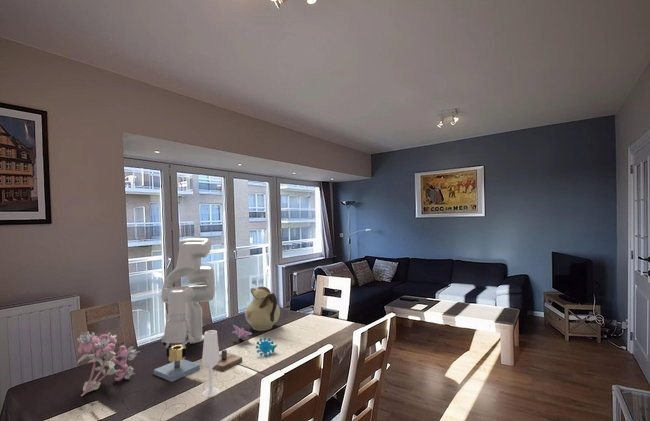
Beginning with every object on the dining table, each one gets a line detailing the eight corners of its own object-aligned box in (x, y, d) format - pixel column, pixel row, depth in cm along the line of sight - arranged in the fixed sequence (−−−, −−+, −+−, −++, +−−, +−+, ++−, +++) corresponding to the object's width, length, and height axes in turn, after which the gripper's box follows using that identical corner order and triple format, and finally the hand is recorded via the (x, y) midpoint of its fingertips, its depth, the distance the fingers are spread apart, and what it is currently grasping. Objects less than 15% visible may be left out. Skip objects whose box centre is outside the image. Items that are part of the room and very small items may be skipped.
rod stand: (205, 365, 153) (205, 352, 153) (225, 356, 163) (225, 344, 164) (222, 371, 147) (222, 357, 147) (242, 361, 157) (242, 348, 157)
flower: (118, 397, 123) (137, 328, 135) (53, 397, 119) (78, 327, 131) (135, 395, 140) (150, 335, 152) (79, 395, 137) (99, 333, 149)
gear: (256, 355, 159) (255, 336, 166) (253, 361, 163) (253, 342, 170) (277, 355, 163) (276, 336, 170) (275, 360, 167) (274, 342, 174)
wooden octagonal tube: (166, 361, 144) (166, 350, 144) (174, 355, 151) (174, 344, 151) (180, 361, 144) (180, 350, 144) (187, 355, 150) (187, 344, 150)
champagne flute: (202, 398, 124) (202, 335, 125) (201, 390, 130) (201, 330, 131) (220, 394, 126) (220, 333, 127) (218, 386, 133) (218, 328, 134)
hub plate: (153, 374, 145) (153, 359, 145) (181, 362, 157) (181, 349, 157) (171, 381, 137) (171, 366, 138) (199, 369, 149) (199, 354, 149)
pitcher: (252, 321, 220) (252, 285, 221) (285, 322, 217) (285, 285, 217) (239, 333, 198) (239, 292, 198) (276, 334, 194) (276, 293, 195)
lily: (253, 345, 180) (256, 327, 185) (235, 341, 174) (238, 323, 179) (242, 346, 188) (244, 329, 193) (224, 343, 181) (227, 326, 186)
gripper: (154, 319, 145) (154, 359, 144) (191, 319, 144) (191, 359, 143) (164, 314, 152) (163, 352, 152) (199, 314, 151) (199, 353, 150)
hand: (177, 355), depth 147 cm, fingers closed on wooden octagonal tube, 6 cm apart
